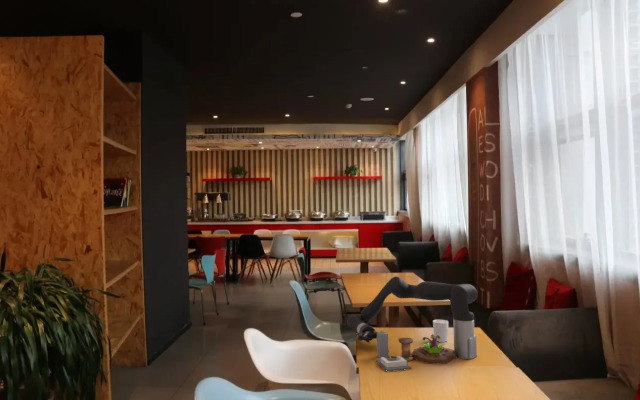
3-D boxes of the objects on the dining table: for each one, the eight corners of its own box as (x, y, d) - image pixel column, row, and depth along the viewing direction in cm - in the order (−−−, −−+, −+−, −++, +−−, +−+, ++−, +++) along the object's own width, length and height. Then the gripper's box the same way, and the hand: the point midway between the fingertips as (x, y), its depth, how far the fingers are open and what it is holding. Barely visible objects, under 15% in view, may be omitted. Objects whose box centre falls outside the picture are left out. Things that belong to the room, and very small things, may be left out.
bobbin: (416, 359, 219) (415, 339, 219) (407, 362, 214) (407, 342, 214) (398, 354, 226) (398, 335, 226) (390, 357, 221) (390, 338, 221)
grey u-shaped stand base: (375, 361, 216) (375, 355, 216) (398, 359, 219) (398, 352, 219) (387, 371, 202) (387, 364, 202) (411, 369, 205) (411, 362, 205)
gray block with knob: (377, 355, 224) (376, 329, 225) (385, 355, 225) (384, 328, 226) (380, 358, 220) (379, 331, 221) (388, 357, 221) (387, 330, 222)
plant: (405, 360, 218) (405, 336, 218) (419, 349, 235) (418, 326, 235) (449, 367, 208) (449, 341, 208) (460, 354, 225) (459, 331, 225)
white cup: (430, 339, 250) (429, 320, 251) (443, 337, 253) (443, 319, 253) (438, 343, 243) (438, 323, 243) (451, 341, 245) (451, 322, 245)
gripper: (352, 325, 245) (362, 333, 229) (378, 323, 248) (390, 330, 232) (353, 340, 244) (363, 348, 229) (379, 337, 248) (390, 346, 232)
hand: (376, 339), depth 230 cm, fingers open, 8 cm apart
